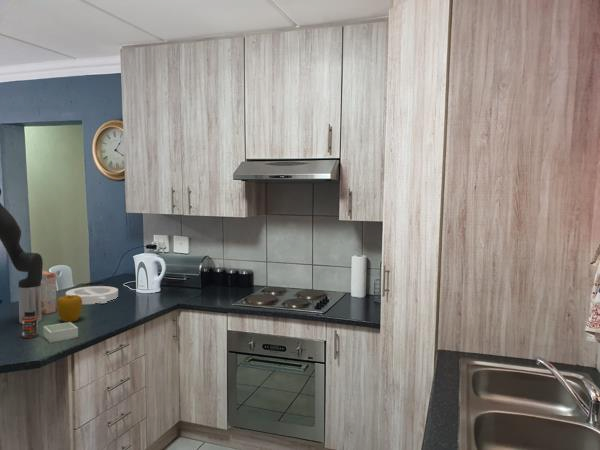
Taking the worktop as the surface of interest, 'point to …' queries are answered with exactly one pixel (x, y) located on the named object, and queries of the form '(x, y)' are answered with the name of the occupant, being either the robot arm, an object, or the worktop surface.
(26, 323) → the supplement bottle
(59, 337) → the box
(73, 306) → the apple
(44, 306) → the cracker box
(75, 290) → the white circle with bar
